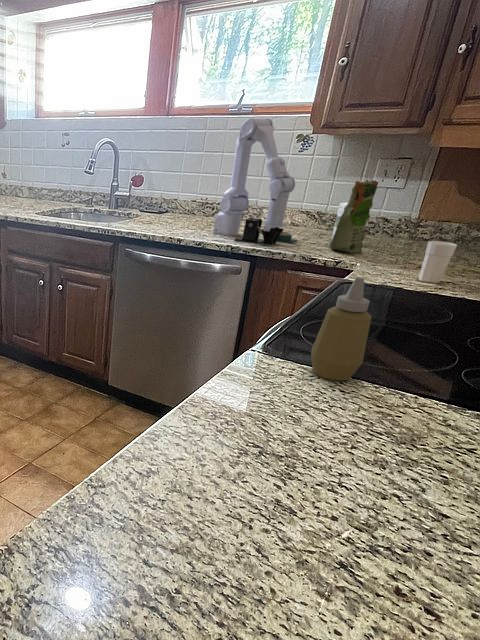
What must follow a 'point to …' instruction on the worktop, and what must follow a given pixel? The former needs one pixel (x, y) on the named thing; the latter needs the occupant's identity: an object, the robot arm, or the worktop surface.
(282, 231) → the button
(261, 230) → the switch lever
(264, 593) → the worktop surface
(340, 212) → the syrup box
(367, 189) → the pouch
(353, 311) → the squeeze bottle
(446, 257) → the cup
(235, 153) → the robot arm
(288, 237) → the button block
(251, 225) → the switch bracket
